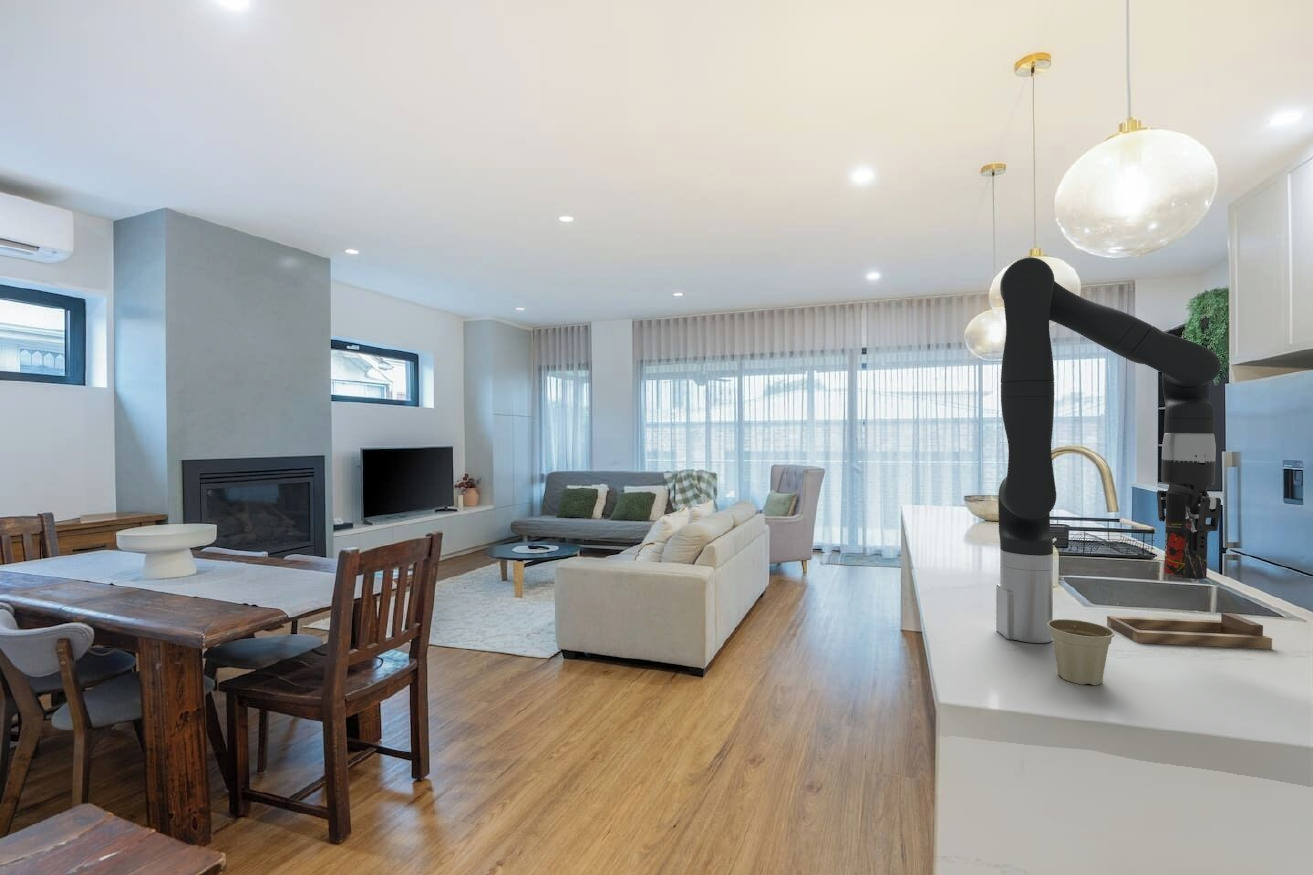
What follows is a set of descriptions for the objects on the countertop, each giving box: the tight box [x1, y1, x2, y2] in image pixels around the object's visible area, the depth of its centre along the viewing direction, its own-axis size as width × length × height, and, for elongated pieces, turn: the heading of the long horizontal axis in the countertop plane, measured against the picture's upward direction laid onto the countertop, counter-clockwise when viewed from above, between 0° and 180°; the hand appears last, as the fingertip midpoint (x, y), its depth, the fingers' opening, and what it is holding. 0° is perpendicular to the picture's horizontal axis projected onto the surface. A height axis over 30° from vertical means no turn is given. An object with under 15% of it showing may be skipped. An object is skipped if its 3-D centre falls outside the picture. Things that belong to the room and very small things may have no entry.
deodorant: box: [1163, 492, 1210, 580], centre depth 115 cm, size 6×6×15 cm
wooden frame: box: [1106, 612, 1273, 650], centre depth 127 cm, size 23×11×4 cm, turn 80°
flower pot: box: [1047, 618, 1116, 686], centre depth 106 cm, size 9×9×9 cm
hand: (1185, 549), depth 115 cm, fingers closed on deodorant, 6 cm apart
